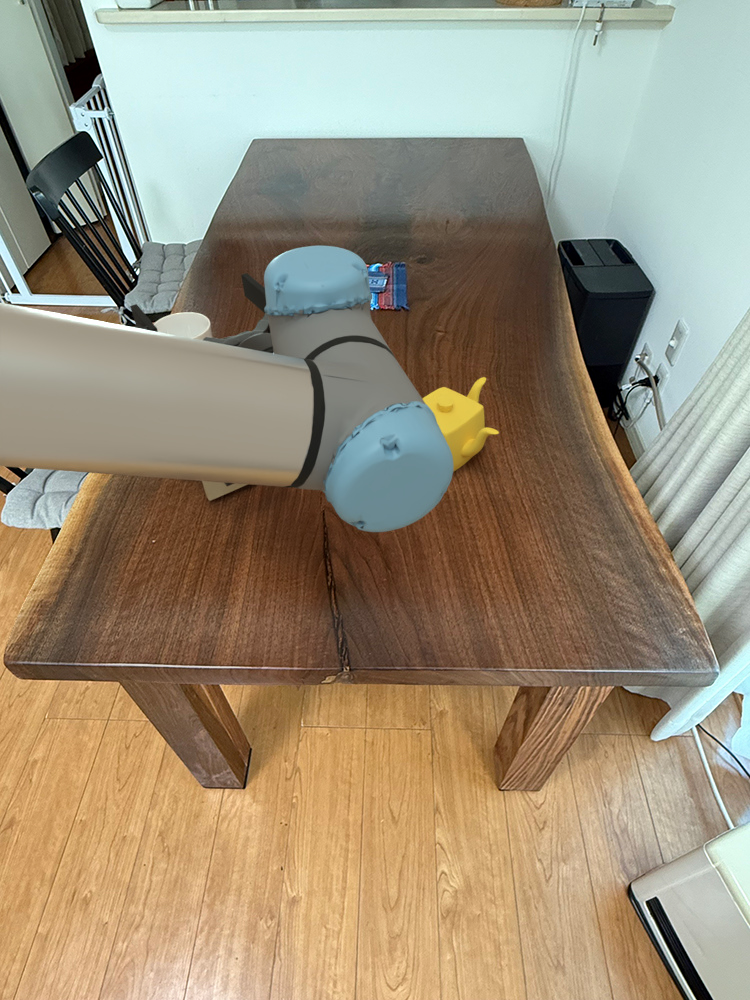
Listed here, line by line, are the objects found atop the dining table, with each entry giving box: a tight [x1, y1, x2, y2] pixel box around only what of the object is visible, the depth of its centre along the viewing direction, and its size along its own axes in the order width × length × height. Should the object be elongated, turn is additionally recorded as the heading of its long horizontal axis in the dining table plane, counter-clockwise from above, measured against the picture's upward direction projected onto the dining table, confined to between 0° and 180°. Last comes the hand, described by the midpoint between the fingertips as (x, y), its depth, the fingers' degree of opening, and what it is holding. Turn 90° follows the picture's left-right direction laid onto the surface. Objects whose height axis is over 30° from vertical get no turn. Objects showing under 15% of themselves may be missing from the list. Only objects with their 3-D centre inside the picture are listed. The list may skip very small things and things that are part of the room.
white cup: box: [153, 311, 214, 340], centre depth 84 cm, size 8×8×10 cm
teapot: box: [421, 376, 500, 473], centre depth 90 cm, size 15×14×10 cm
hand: (193, 299), depth 70 cm, fingers open, 13 cm apart
